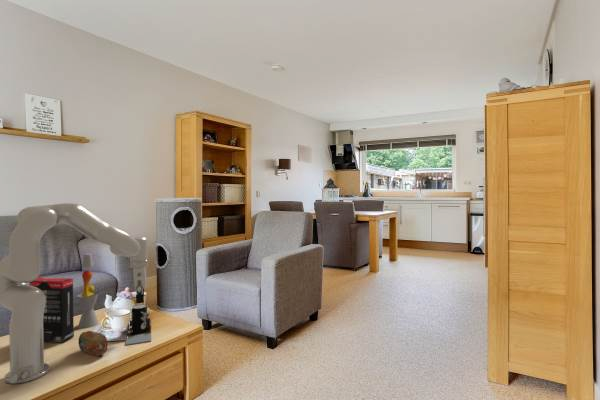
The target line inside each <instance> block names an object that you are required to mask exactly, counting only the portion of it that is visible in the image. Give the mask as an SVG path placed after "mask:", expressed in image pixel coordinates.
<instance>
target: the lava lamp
mask: <svg viewBox="0 0 600 400" xmlns="http://www.w3.org/2000/svg"><path fill="white" fill-rule="evenodd" d="M92 256H93V255H92V253H84V254H83V258H82V262H81V263H82V265H81V268H93V267H94V263H93V262H94V261H93V257H92ZM92 277H93V272H92V271H90V270H85V271H83V272H82V275H81V278H82V281H83V291H82V293H79V294H77V295H76V296H77V299H78V302H79V304H80V306H81V308H82V312H81V315H80V318H79V319H80V320H79V322H78V325H77V327H78V328H79V329H87V328H92V327H95V326H97V325H98V324H99V320H98V317H97V315H96V312H95V309H94V307H95V305H96V302H97V299H98V298H99V297H98V296H99V294H100V293H99V292H97V291H95V286H94V285H92V284H91V285H90V281H91V279H92Z"/></svg>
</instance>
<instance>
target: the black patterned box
mask: <svg viewBox="0 0 600 400" xmlns="http://www.w3.org/2000/svg"><path fill="white" fill-rule="evenodd" d="M129 321H130V326H132V319H131V320H129ZM127 325H128V326H126V334H127V333H128V331H129V332H130V329H129V324H128V323H127ZM147 328H149V333H151V334H152V317H149V318H148V317H147Z"/></svg>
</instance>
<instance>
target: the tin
mask: <svg viewBox="0 0 600 400" xmlns="http://www.w3.org/2000/svg"><path fill="white" fill-rule="evenodd" d="M77 343H78V347H79V350H80V351H81V352H82V353H83V354H87V355H90V356H93V357H99V356H102V355H104V354H105V353H106V352H107V350H108V338H107V337H106V335H105V334H104V333H100V332H96V331H93V330H87V331H83V332H81V333H80V334H79V337H78V342H77Z"/></svg>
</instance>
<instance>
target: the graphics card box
mask: <svg viewBox="0 0 600 400" xmlns="http://www.w3.org/2000/svg"><path fill="white" fill-rule="evenodd" d="M29 285H31V286H34V287H37V288H39V289H40V290H41V291H42V292H43V293H44V295H45V298H46V303H45V309H44V316H43V330H44V343H45V342H46V343H48V342H49V343H60V344H62V343H66V342H67V341H69V340H71V339H72V338H74V335H75V333H74V329H75V328H74V326H75V324H74V323H75V322H74V278H66V277H65V278H63V277H62V278H61V277H60V278H59V277H41V276H40V277H39V276H38V277H37V278H36V279H35V280H34V281H32V282H29Z"/></svg>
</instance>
